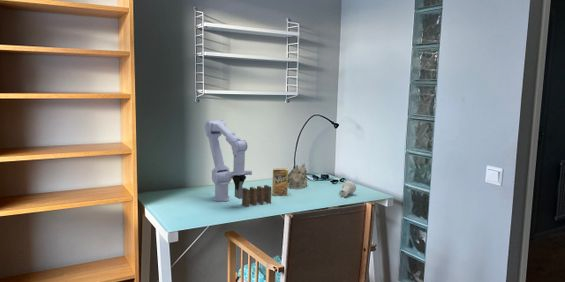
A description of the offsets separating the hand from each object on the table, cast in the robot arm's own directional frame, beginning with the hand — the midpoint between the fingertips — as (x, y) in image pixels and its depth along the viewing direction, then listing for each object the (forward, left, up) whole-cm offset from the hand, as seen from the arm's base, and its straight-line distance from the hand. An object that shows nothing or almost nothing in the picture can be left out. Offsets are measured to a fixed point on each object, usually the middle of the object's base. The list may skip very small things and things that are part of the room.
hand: (238, 189), depth 220 cm
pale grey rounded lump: (-26, +64, -10) cm, 69 cm away
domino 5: (-9, +16, -9) cm, 20 cm away
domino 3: (-5, +8, -9) cm, 13 cm away
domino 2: (-2, +4, -9) cm, 10 cm away
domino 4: (-7, +12, -9) cm, 16 cm away
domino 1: (0, 0, -4) cm, 4 cm away
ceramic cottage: (-47, +35, -10) cm, 59 cm away
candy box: (-25, +23, -9) cm, 36 cm away
